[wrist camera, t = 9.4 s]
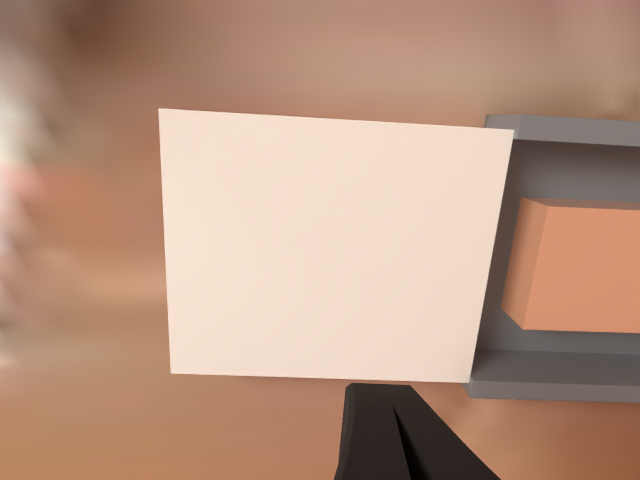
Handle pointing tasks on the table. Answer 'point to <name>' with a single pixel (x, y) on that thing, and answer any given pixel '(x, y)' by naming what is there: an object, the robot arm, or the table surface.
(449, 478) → the robot arm
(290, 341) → the board
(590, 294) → the tile
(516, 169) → the tray
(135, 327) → the table surface
